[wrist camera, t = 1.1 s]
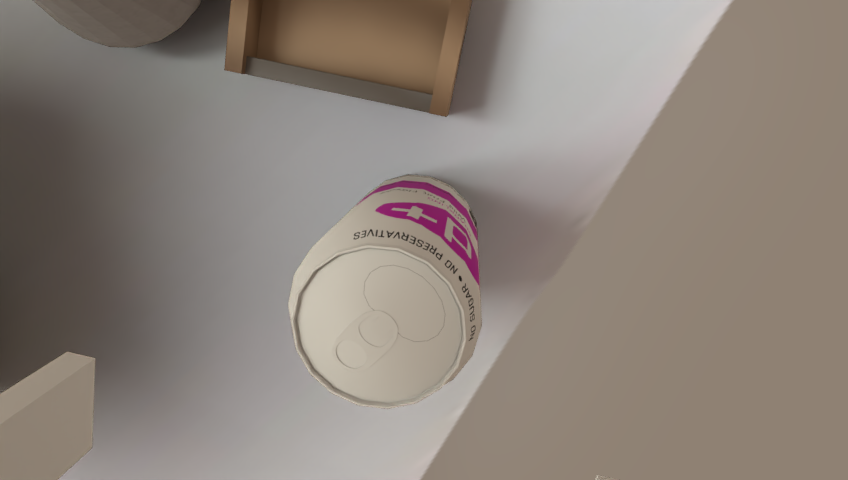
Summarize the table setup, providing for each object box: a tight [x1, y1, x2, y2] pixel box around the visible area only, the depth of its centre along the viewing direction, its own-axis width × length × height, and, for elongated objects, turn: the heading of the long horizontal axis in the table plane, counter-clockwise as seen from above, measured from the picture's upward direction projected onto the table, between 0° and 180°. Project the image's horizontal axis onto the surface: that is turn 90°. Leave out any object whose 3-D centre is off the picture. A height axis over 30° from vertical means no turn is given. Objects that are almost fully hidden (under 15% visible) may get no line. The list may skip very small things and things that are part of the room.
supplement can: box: [288, 174, 482, 409], centre depth 29 cm, size 8×8×15 cm
